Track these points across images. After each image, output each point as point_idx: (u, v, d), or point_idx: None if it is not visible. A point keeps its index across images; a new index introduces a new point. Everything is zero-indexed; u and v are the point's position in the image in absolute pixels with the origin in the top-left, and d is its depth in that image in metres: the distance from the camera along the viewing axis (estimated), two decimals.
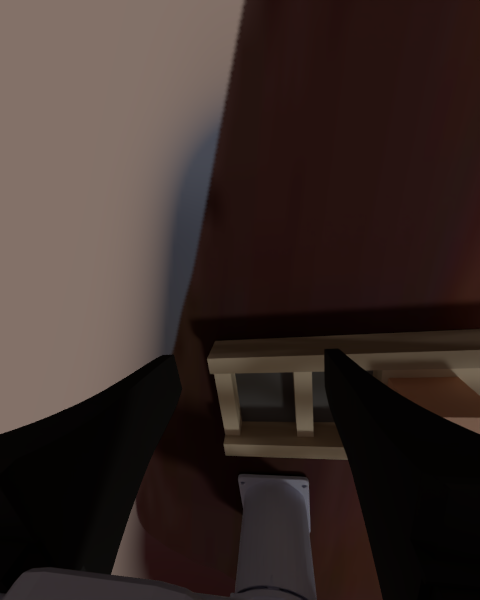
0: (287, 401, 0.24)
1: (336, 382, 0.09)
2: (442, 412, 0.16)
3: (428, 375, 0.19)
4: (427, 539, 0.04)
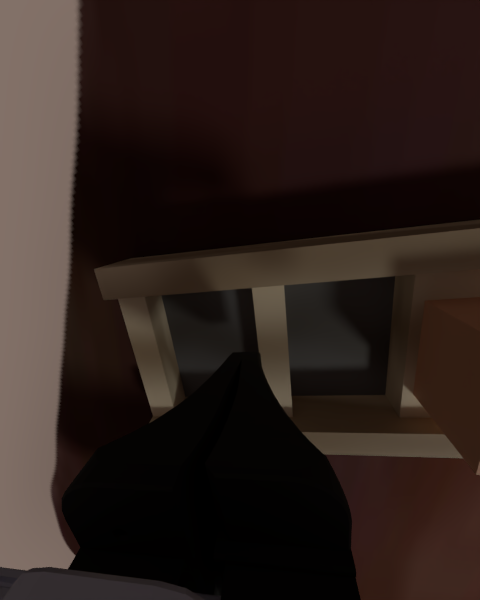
0: None
1: None
2: None
3: None
4: (222, 522, 0.05)
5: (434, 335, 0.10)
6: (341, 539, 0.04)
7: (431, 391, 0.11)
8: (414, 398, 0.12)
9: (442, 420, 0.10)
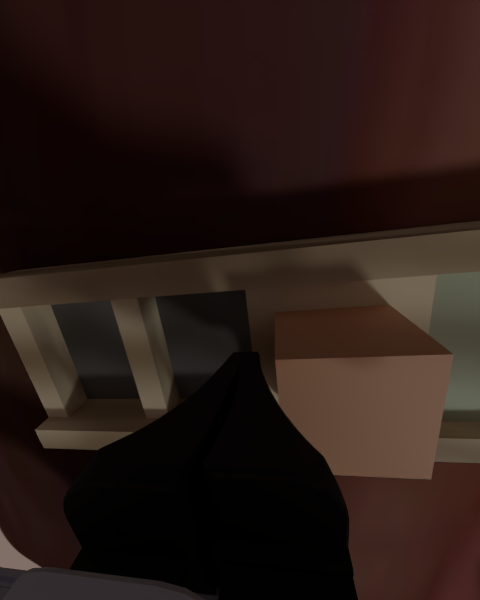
0: None
1: None
2: (332, 351, 0.08)
3: (321, 305, 0.11)
4: (220, 522, 0.05)
5: None
6: (339, 539, 0.04)
7: None
8: None
9: None
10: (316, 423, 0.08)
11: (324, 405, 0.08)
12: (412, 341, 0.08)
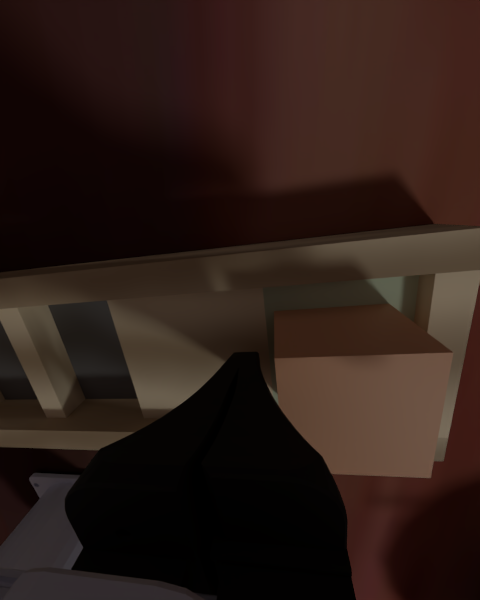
0: None
1: None
2: (331, 350, 0.08)
3: (173, 314, 0.12)
4: (218, 522, 0.05)
5: None
6: (337, 539, 0.04)
7: None
8: (148, 402, 0.14)
9: None
10: (315, 421, 0.08)
11: (324, 404, 0.08)
12: (412, 339, 0.08)
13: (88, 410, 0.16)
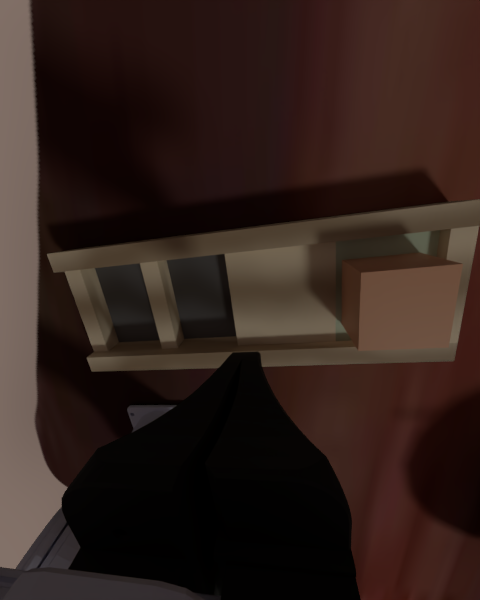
0: None
1: None
2: (393, 268, 0.13)
3: (271, 264, 0.18)
4: (222, 523, 0.05)
5: (345, 280, 0.17)
6: (341, 539, 0.04)
7: (346, 315, 0.17)
8: (242, 332, 0.20)
9: (349, 330, 0.17)
10: (381, 313, 0.14)
11: (388, 301, 0.14)
12: (439, 262, 0.13)
13: (191, 344, 0.22)
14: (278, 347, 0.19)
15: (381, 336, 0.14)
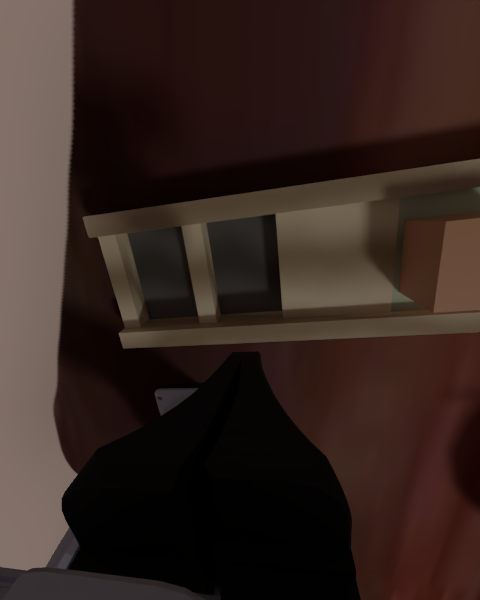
0: (192, 289, 0.21)
1: None
2: None
3: (326, 227, 0.17)
4: (222, 523, 0.05)
5: (410, 240, 0.15)
6: (341, 539, 0.04)
7: (409, 280, 0.16)
8: (289, 303, 0.19)
9: (415, 294, 0.15)
10: (464, 268, 0.13)
11: (473, 254, 0.12)
12: None
13: (231, 318, 0.21)
14: (329, 318, 0.18)
15: (461, 295, 0.13)
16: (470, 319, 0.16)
